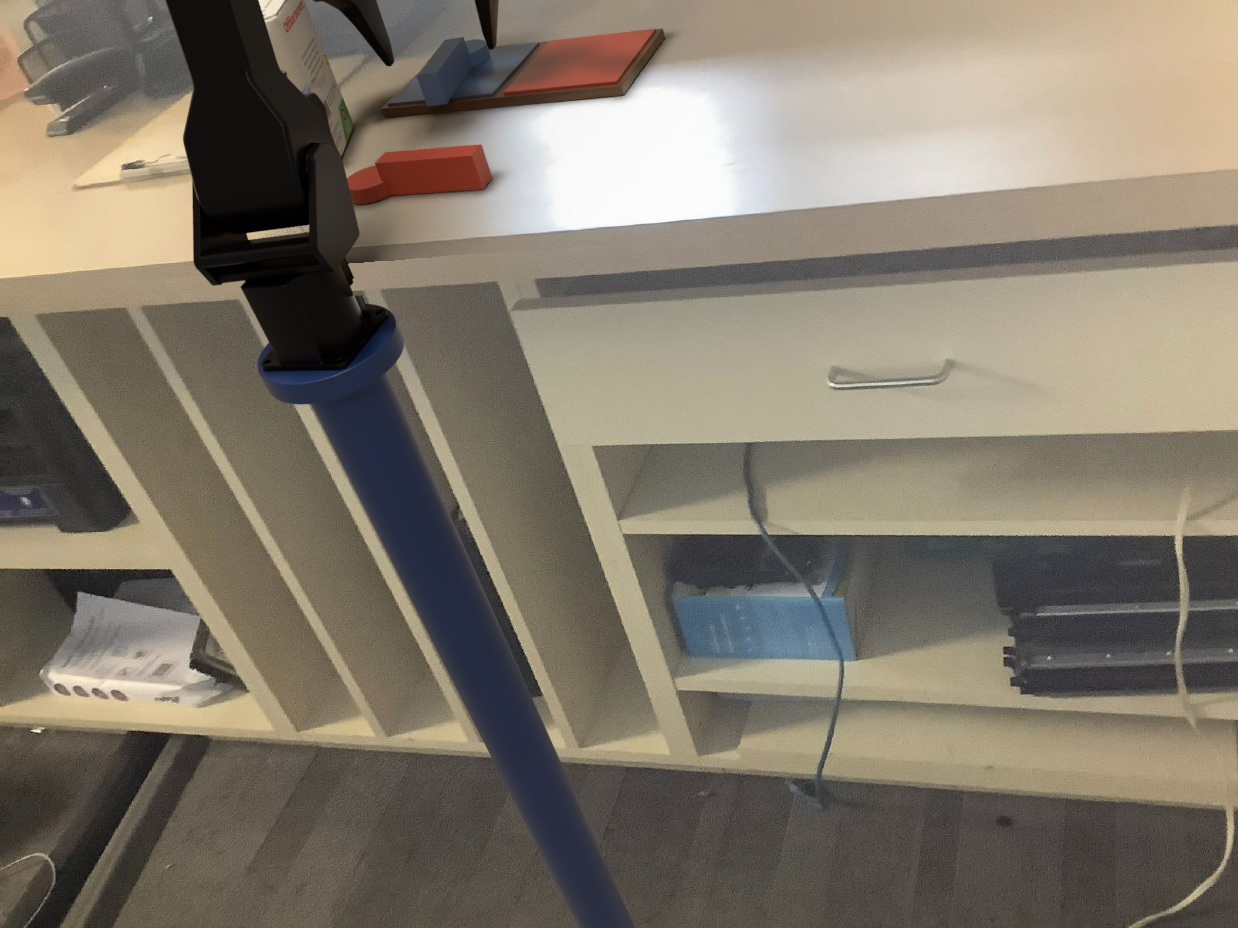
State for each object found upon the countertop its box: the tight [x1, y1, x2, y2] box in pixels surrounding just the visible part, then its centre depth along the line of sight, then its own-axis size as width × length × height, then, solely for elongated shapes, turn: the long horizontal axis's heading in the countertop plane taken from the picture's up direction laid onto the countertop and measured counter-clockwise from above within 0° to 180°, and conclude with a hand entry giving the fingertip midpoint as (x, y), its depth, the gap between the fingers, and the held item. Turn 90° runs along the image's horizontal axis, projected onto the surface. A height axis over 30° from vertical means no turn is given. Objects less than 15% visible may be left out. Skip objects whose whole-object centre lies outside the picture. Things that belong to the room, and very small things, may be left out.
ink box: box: [259, 0, 355, 157], centre depth 90 cm, size 8×5×12 cm, turn 4°
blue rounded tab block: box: [416, 36, 490, 107], centre depth 97 cm, size 12×4×3 cm, turn 173°
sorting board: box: [380, 28, 665, 118], centre depth 97 cm, size 12×22×1 cm, turn 75°
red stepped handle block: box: [347, 143, 493, 205], centre depth 83 cm, size 12×4×3 cm, turn 75°
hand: (441, 56), depth 95 cm, fingers open, 9 cm apart
